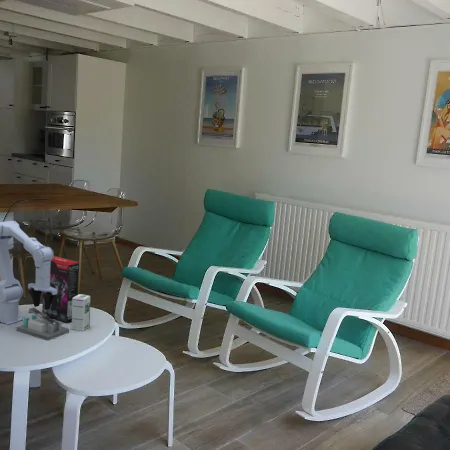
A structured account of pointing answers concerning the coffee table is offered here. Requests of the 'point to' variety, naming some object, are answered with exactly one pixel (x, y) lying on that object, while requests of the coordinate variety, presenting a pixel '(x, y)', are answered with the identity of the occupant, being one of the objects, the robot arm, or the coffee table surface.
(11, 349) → the coffee table surface
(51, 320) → the clamp strap
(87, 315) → the syrup box
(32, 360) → the coffee table surface
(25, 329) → the clamp board
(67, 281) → the graphics card box
